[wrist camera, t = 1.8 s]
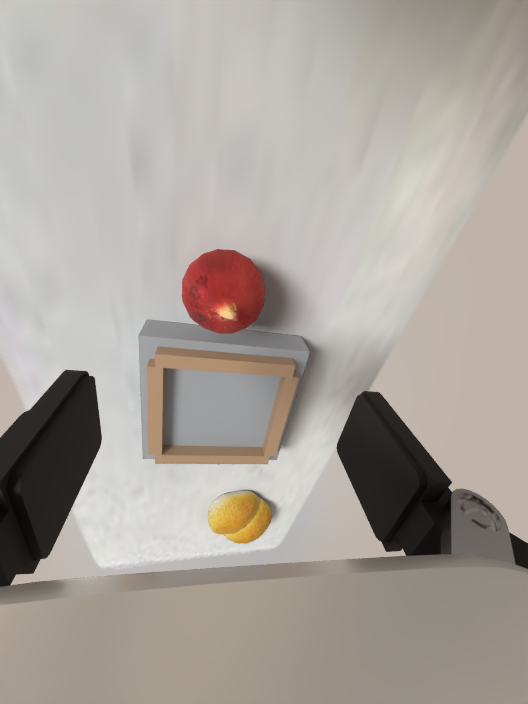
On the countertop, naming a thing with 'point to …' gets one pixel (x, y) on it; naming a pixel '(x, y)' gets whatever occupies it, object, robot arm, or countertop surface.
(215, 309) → the pomegranate
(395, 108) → the countertop surface
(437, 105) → the countertop surface
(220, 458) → the stand
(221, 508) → the bread roll
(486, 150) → the countertop surface
